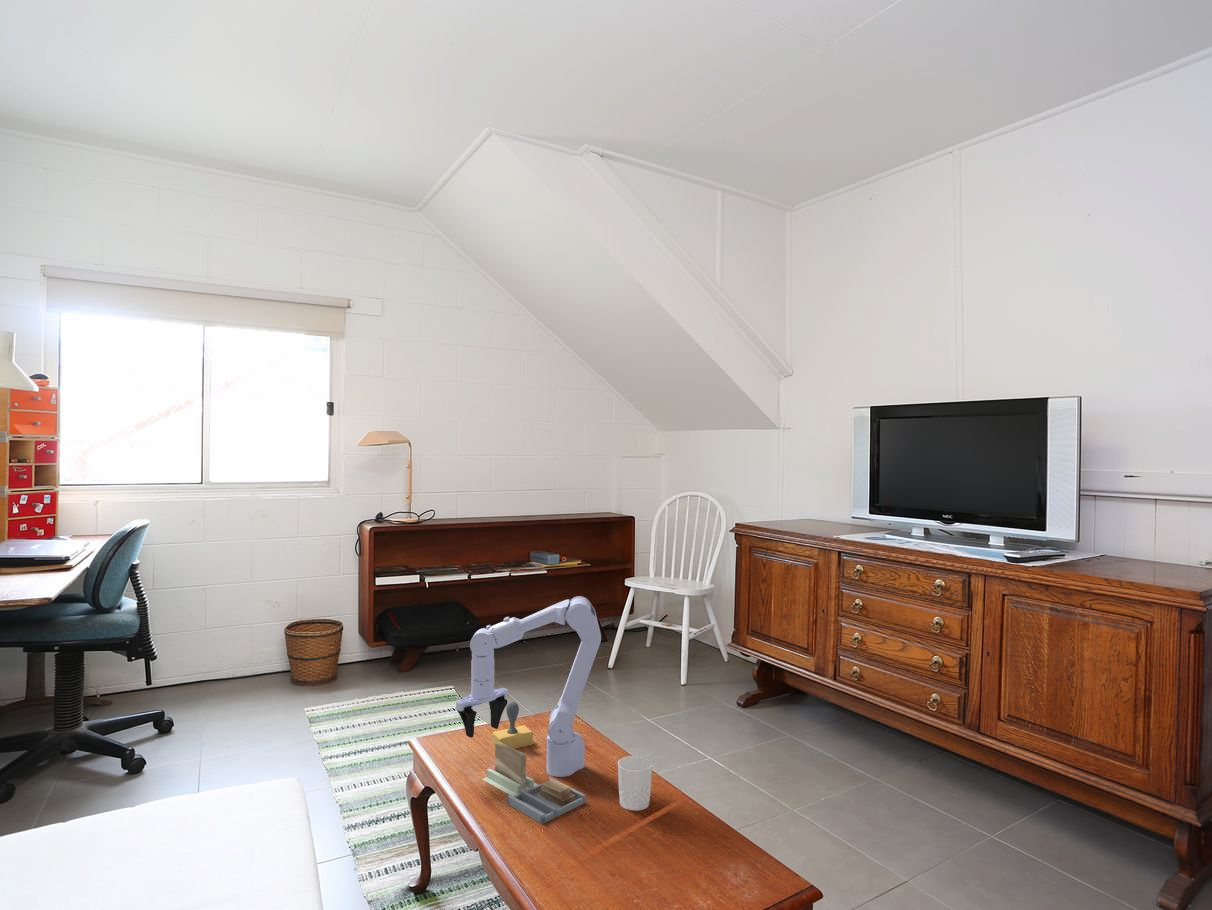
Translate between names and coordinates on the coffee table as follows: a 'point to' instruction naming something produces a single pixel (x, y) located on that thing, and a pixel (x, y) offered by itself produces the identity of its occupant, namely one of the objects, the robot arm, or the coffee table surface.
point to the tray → (542, 804)
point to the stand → (507, 783)
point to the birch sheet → (510, 763)
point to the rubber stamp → (513, 731)
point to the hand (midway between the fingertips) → (482, 731)
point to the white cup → (634, 782)
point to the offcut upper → (555, 788)
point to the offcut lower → (559, 801)
